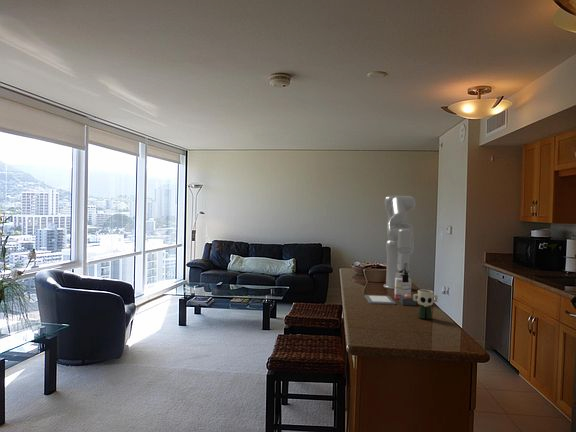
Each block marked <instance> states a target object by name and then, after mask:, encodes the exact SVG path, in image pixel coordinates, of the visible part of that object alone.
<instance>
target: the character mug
mask: <svg viewBox="0 0 576 432" xmlns="http://www.w3.org/2000/svg"><path fill="white" fill-rule="evenodd" d="M416 297H417V298H416ZM413 300H414V301H416V302H417V304H418V305H419V307H418V312H417V317H418V318H420V319H427V320H430V319H432V317H433V316H432V307H431V306H432V305H434V303H437V302H438V295H437V294H436V295H435V294H434V291H433V290H429V289H418V290H417V293H415V294H414V293H413Z"/></svg>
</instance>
